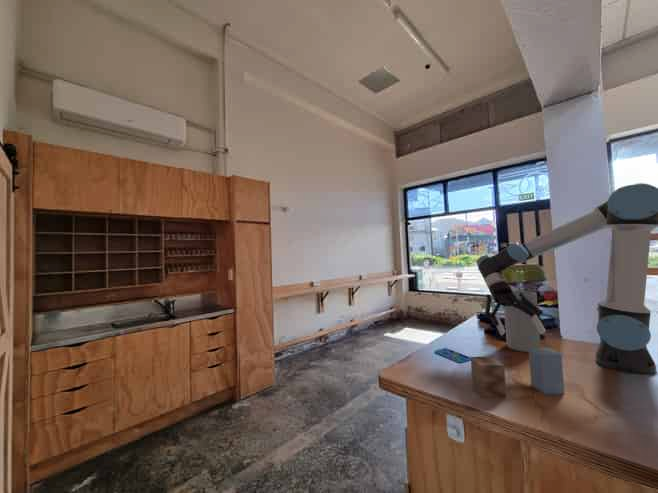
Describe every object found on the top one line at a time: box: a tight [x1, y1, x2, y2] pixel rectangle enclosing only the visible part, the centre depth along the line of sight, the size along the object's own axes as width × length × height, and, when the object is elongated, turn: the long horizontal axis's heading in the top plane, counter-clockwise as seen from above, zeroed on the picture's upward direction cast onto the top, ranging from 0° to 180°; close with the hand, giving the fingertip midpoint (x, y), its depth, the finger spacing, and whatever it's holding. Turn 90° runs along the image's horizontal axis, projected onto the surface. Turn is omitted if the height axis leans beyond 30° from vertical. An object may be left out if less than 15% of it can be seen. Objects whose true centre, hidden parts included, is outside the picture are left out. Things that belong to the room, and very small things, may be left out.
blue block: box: [528, 347, 565, 395], centre depth 87 cm, size 6×6×12 cm
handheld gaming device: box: [434, 347, 472, 364], centre depth 118 cm, size 8×1×15 cm
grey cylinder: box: [503, 290, 542, 353], centre depth 123 cm, size 12×12×25 cm
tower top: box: [470, 356, 506, 383], centre depth 87 cm, size 7×7×5 cm
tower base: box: [471, 372, 507, 399], centre depth 87 cm, size 7×7×5 cm
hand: (523, 333), depth 98 cm, fingers open, 13 cm apart
